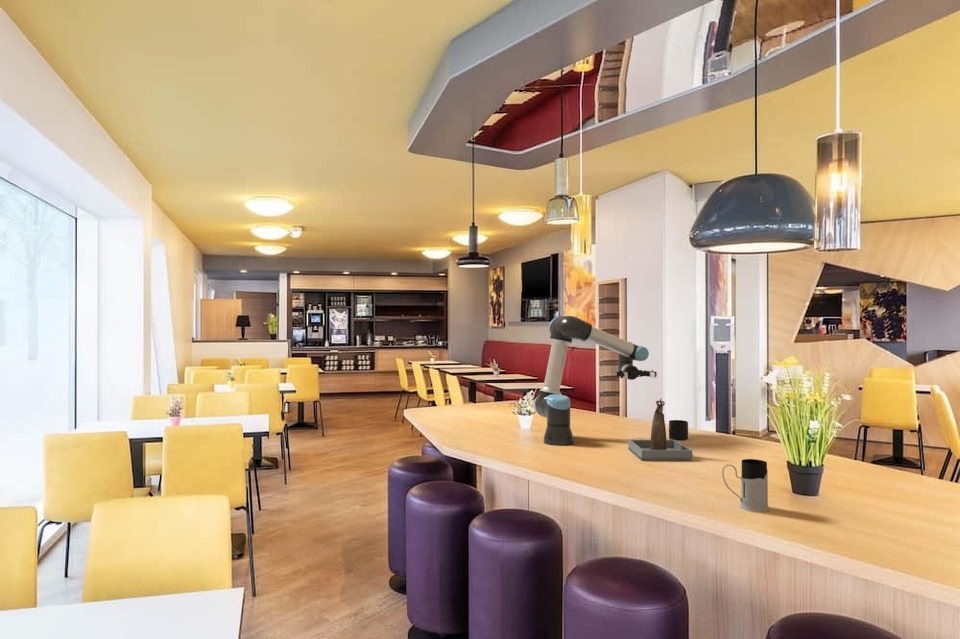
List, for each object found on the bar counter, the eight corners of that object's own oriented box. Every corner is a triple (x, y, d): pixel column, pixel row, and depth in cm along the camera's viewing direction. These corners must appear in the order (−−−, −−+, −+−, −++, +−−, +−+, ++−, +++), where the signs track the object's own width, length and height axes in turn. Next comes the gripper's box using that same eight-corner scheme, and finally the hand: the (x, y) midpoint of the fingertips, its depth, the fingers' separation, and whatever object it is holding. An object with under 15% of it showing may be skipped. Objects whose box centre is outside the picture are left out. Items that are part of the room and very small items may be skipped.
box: (641, 460, 263) (641, 450, 263) (628, 449, 287) (628, 439, 287) (692, 460, 263) (692, 450, 263) (674, 449, 287) (674, 439, 287)
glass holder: (773, 512, 190) (772, 465, 190) (725, 510, 193) (725, 463, 193) (764, 504, 199) (764, 459, 199) (719, 502, 201) (719, 457, 201)
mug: (661, 439, 312) (661, 421, 312) (677, 436, 319) (676, 419, 319) (676, 441, 304) (676, 424, 305) (692, 439, 311) (691, 421, 311)
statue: (668, 454, 270) (665, 398, 270) (650, 454, 271) (647, 399, 272) (666, 450, 278) (663, 396, 279) (649, 451, 280) (646, 396, 281)
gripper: (653, 379, 320) (665, 383, 299) (606, 379, 320) (615, 383, 299) (653, 364, 320) (665, 367, 299) (606, 365, 320) (615, 368, 299)
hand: (640, 375), depth 299 cm, fingers open, 13 cm apart
